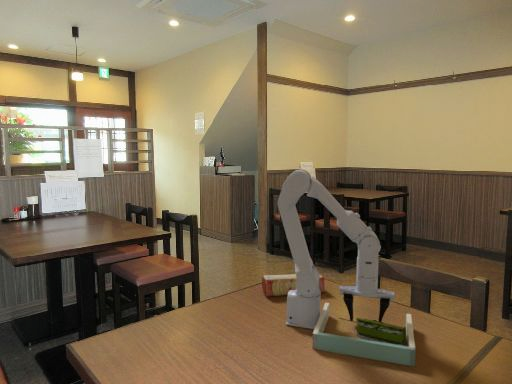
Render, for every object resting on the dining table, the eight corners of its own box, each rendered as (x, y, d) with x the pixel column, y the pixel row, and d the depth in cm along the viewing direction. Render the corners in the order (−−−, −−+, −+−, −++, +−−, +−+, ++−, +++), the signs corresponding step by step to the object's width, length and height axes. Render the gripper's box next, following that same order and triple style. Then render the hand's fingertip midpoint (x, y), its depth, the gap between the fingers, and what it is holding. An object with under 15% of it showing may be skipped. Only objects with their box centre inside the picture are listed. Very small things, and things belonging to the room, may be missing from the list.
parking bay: (312, 348, 94) (312, 333, 94) (325, 315, 113) (325, 302, 112) (414, 366, 87) (415, 350, 86) (410, 327, 105) (411, 314, 104)
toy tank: (403, 334, 91) (410, 311, 99) (328, 317, 100) (341, 297, 108) (403, 358, 93) (410, 333, 101) (330, 339, 102) (342, 317, 110)
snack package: (319, 287, 135) (319, 269, 135) (325, 294, 129) (325, 275, 128) (261, 291, 132) (261, 273, 131) (264, 299, 126) (264, 279, 125)
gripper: (394, 273, 105) (392, 319, 107) (342, 267, 110) (340, 311, 111) (395, 281, 98) (393, 330, 100) (339, 275, 103) (337, 322, 105)
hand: (365, 321), depth 105 cm, fingers open, 7 cm apart
